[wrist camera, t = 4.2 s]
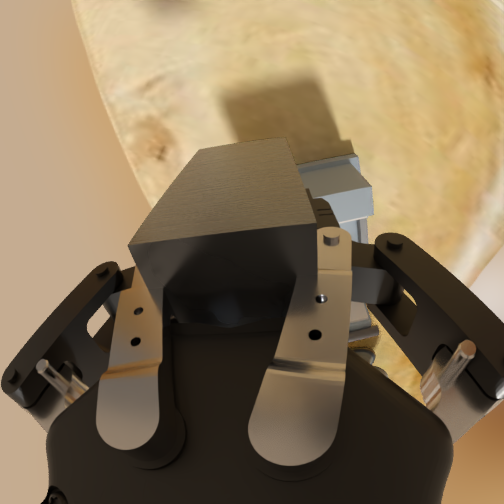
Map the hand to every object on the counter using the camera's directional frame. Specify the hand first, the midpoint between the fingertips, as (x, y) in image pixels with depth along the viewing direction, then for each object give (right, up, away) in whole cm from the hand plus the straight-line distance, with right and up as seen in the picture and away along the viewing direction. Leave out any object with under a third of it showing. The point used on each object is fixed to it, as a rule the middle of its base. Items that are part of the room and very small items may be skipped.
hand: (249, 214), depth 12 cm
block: (0, +1, +1) cm, 2 cm away
